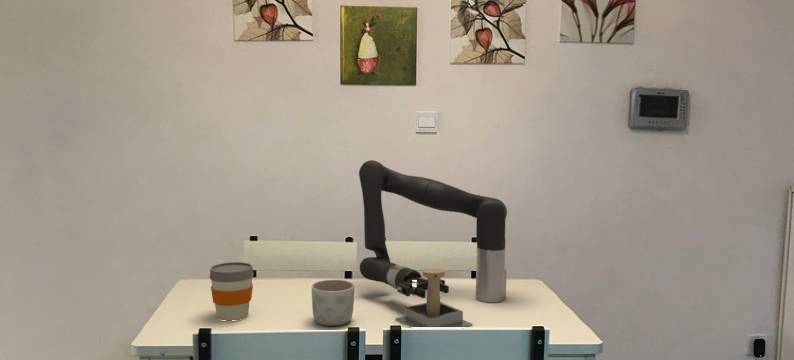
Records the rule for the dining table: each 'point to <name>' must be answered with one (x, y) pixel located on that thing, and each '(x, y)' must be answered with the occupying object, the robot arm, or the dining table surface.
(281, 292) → the dining table surface
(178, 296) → the dining table surface
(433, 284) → the handle
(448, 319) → the grey square tray
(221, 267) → the reusable coffee cup
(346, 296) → the planter
